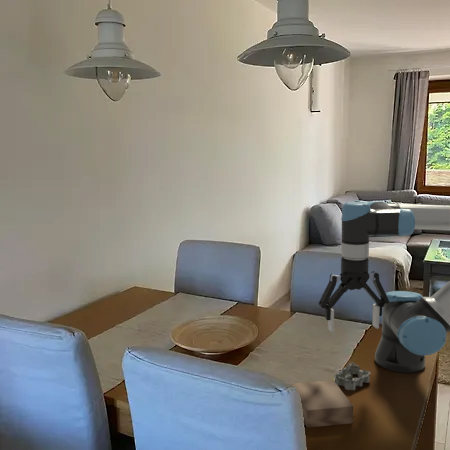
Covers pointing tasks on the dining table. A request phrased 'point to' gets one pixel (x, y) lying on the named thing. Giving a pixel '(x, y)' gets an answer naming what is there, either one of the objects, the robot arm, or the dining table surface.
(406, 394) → the dining table surface
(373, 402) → the dining table surface
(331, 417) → the tan flat block
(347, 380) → the egg carton
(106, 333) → the dining table surface
